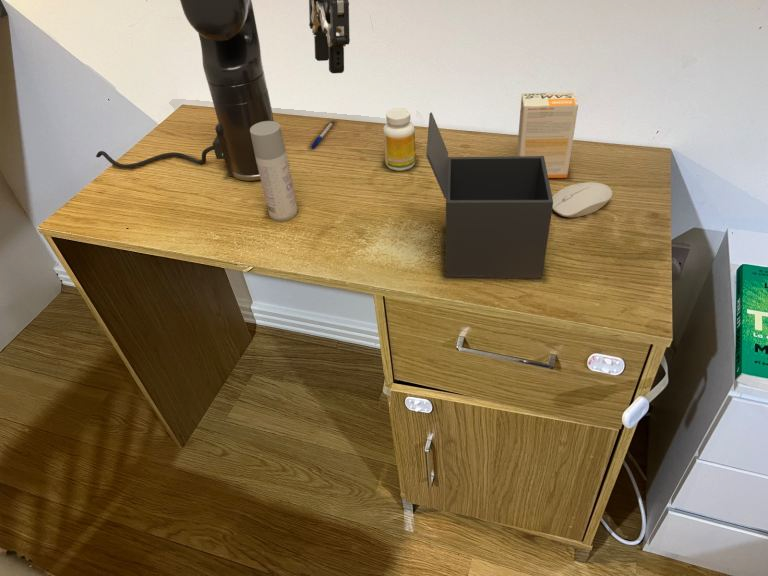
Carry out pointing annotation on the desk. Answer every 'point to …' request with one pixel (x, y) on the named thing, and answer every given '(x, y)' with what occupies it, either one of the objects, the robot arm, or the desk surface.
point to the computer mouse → (581, 199)
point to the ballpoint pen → (321, 136)
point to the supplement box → (548, 129)
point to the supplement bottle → (399, 140)
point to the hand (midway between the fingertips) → (329, 66)
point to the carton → (497, 217)
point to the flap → (437, 155)
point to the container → (274, 170)
